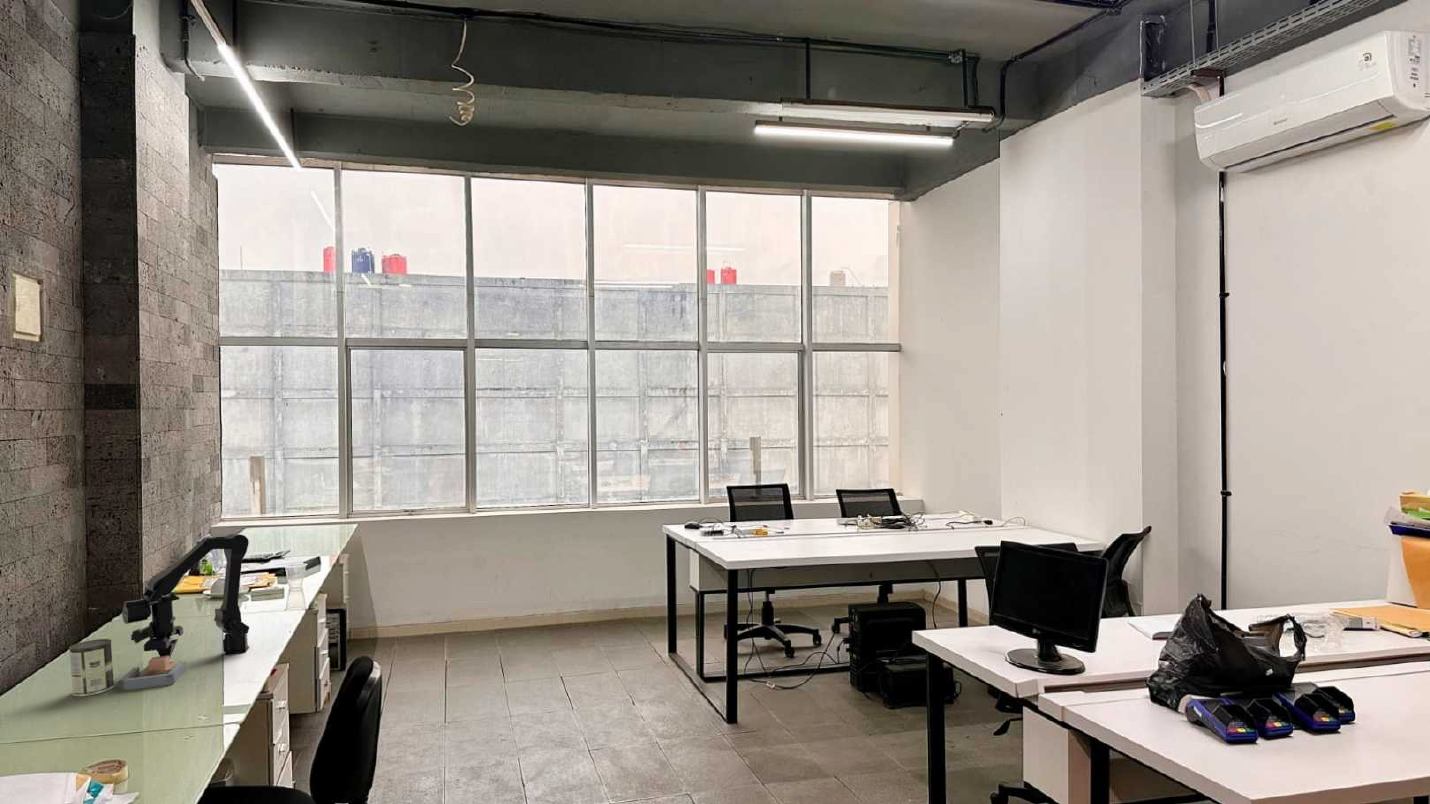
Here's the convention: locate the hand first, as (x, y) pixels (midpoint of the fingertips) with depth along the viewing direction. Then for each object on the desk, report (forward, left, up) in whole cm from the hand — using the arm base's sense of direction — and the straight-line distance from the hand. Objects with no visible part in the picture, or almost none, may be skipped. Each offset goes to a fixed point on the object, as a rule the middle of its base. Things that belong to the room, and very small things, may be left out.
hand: (165, 664), depth 279 cm
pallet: (0, +5, -1) cm, 5 cm away
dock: (0, +12, -1) cm, 12 cm away
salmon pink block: (0, +6, +1) cm, 6 cm away
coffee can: (+15, +15, -2) cm, 21 cm away
